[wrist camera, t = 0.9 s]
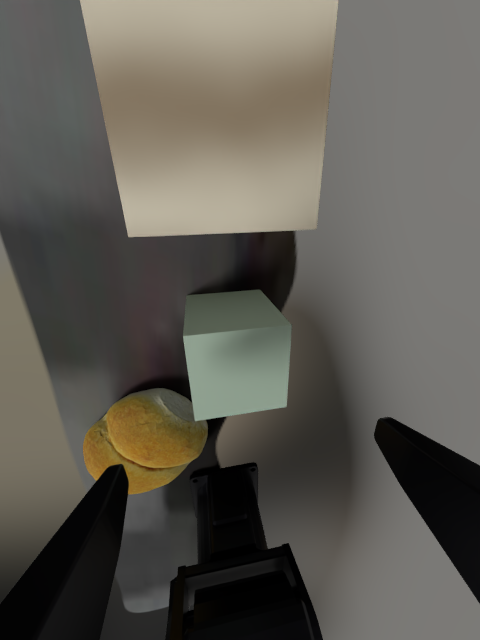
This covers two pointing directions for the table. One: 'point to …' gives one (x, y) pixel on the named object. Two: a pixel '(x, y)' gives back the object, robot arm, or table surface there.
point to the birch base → (214, 110)
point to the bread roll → (146, 438)
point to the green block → (236, 353)
